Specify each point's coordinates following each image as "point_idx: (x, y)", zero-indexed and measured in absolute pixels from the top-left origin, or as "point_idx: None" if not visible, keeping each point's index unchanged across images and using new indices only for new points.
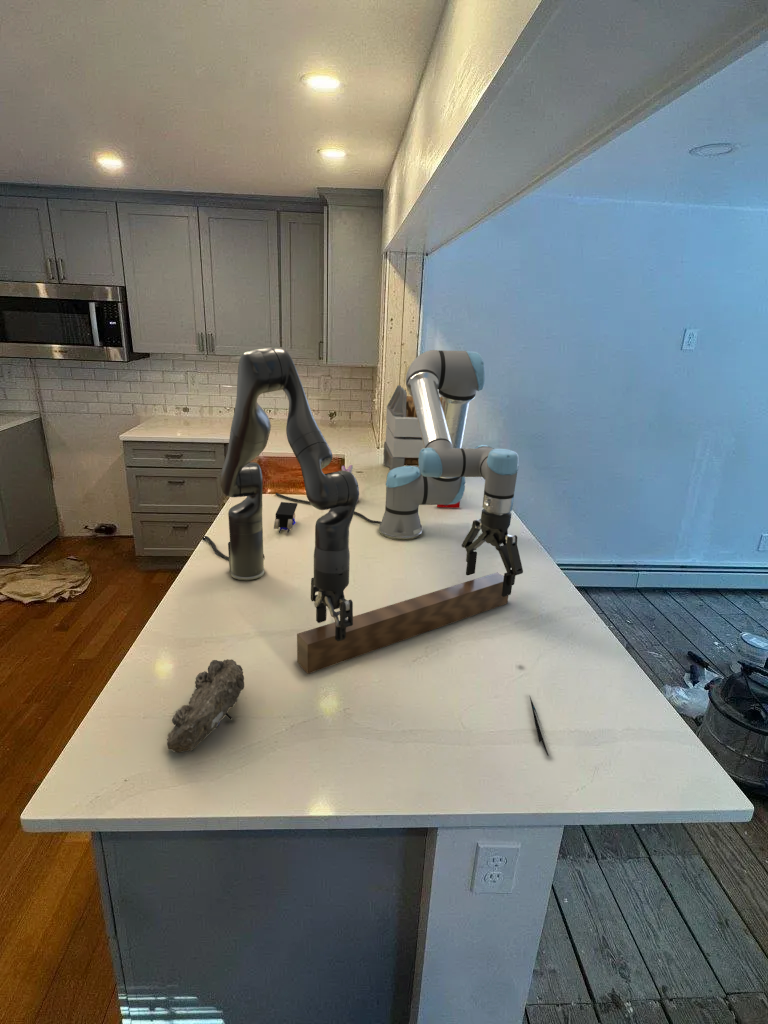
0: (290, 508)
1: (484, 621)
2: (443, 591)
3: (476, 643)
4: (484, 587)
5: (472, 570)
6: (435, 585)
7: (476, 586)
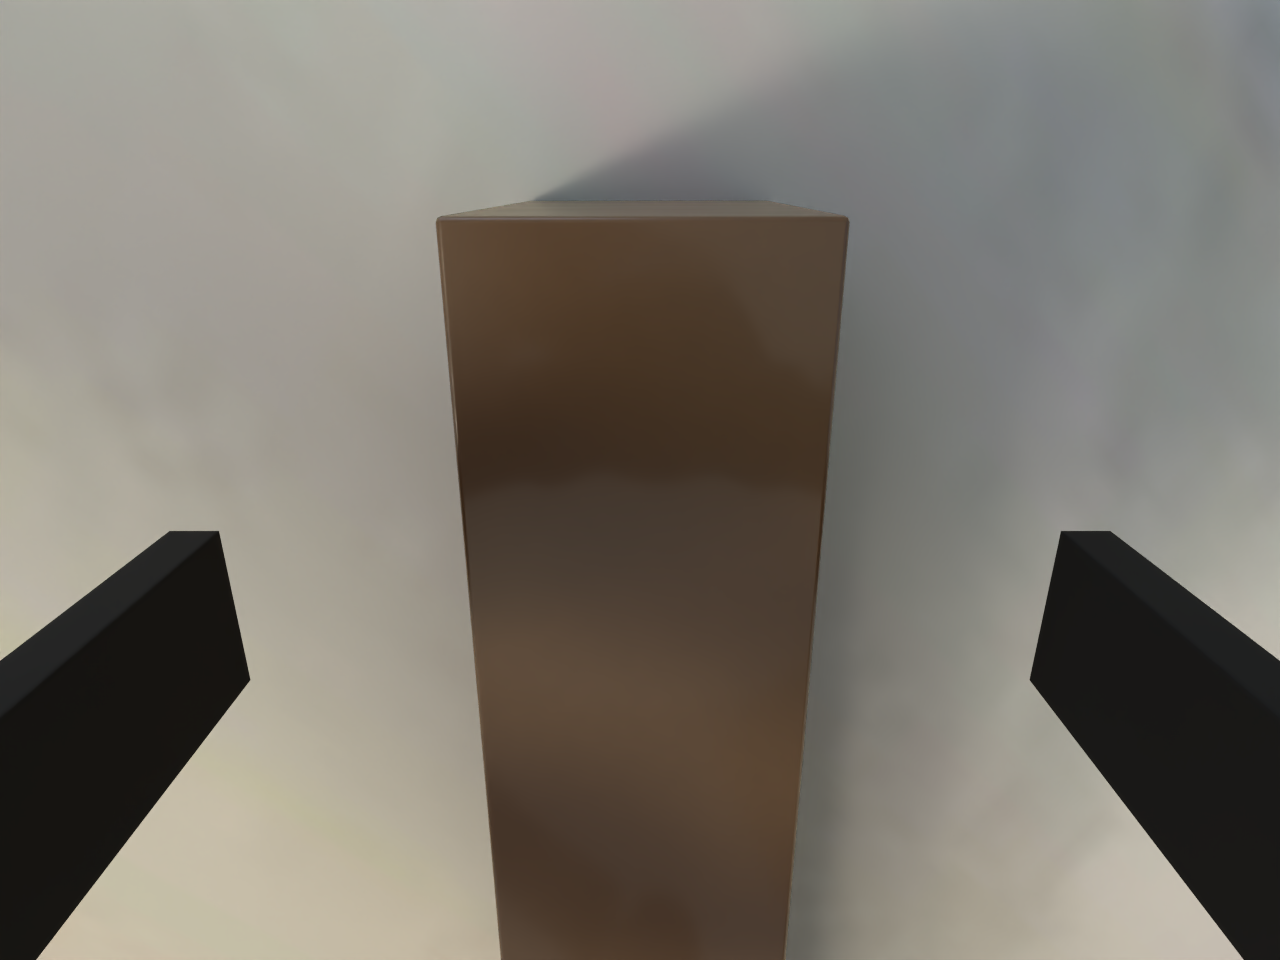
0: None
1: (883, 698)
2: None
3: (1068, 951)
4: (791, 844)
5: (192, 631)
6: (27, 629)
7: (695, 906)
